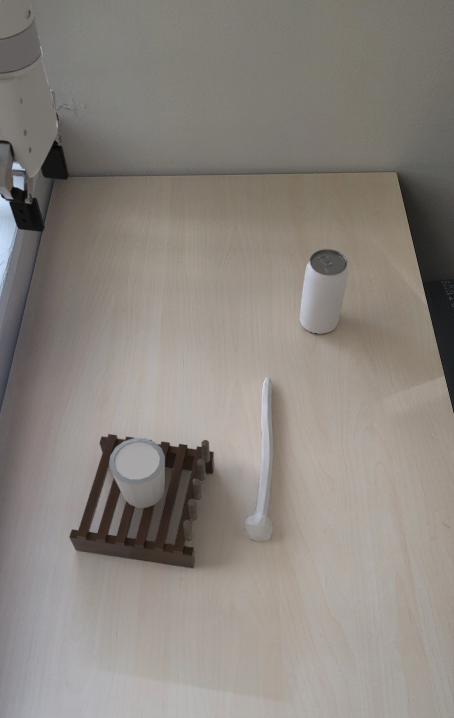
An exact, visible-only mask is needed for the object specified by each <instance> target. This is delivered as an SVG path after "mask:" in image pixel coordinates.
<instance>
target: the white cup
mask: <svg viewBox="0 0 454 718" xmlns="http://www.w3.org/2000/svg"><path fill="white" fill-rule="evenodd" d="M151 440H152V439H148V438H144V437H134V438H133V439H130V440H127V441H124V442H122V443H121V444H120V445H118V446H117V447H116V448H115V449H114V451H113V452H112V454H111V455H110V462H109V468H110V472H111V475H112V477H113V479H114V478H115V481H116V483H117V485H118V487H119V489H120V494H121V495H122V497H123V499H124V501H125V502H126V501H127V502H128V503H129V504H130V505H132V506H135V508H137V509H139V508H140V509H142V508H143V509H144V508H146V507H150V506H153V505H155V506H156V504H157V503H159V502H160V501H161V500H162V498H163V497H164V495H165V485H166V483H165V482H166V478H165V477H166V467H165V456H164V453H163V451H162V448H161V447H159V446H158V445H157V444H158V443H157V442H155V441H153V440H152V441H151Z"/></svg>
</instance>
